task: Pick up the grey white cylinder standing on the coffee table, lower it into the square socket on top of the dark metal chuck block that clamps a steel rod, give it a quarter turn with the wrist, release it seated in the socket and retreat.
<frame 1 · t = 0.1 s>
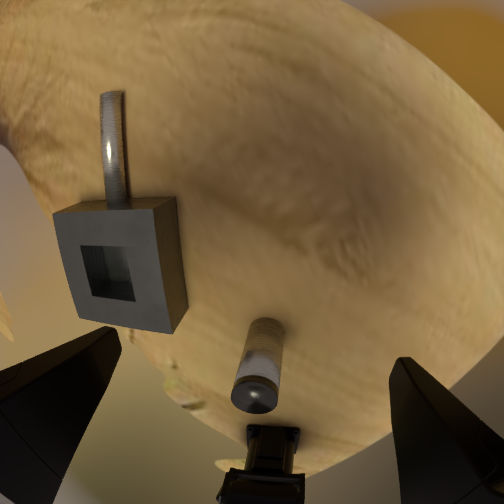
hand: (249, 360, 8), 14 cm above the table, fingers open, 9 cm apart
chuck block: (130, 254, 24), on the table
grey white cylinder: (266, 332, 25), on the table
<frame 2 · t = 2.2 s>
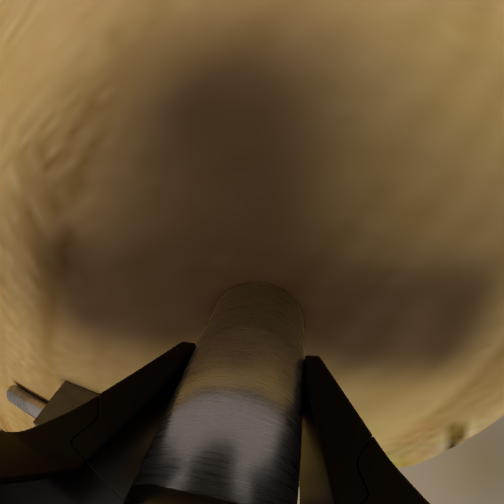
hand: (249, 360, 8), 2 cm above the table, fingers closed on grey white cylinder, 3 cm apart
chuck block: (149, 447, 15), on the table
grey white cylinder: (258, 322, 10), on the table, touching gripper
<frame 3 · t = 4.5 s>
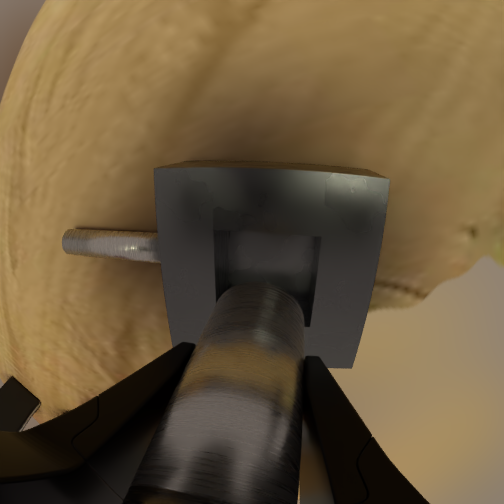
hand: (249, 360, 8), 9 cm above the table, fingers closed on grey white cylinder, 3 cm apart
battery charger: (27, 391, 32), on the table
chuck block: (271, 250, 17), on the table
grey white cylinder: (258, 322, 10), point 7 cm above the table, touching gripper
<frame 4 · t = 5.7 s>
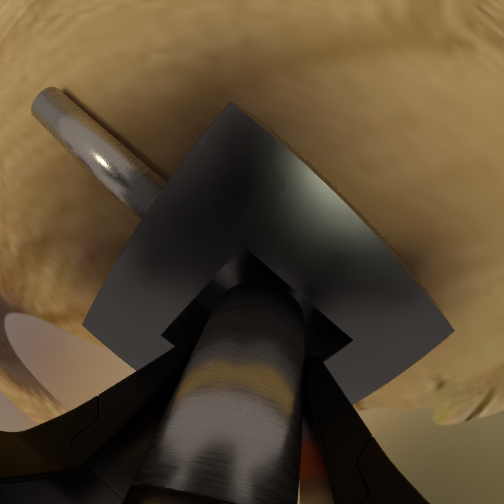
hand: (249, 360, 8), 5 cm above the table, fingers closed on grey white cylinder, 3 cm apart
chuck block: (265, 283, 13), on the table
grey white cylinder: (258, 322, 10), point 3 cm above the table, touching gripper
when the fingers open (5 cm above the table, at t = 6.8 s): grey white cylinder drops 2 cm, resting on chuck block.
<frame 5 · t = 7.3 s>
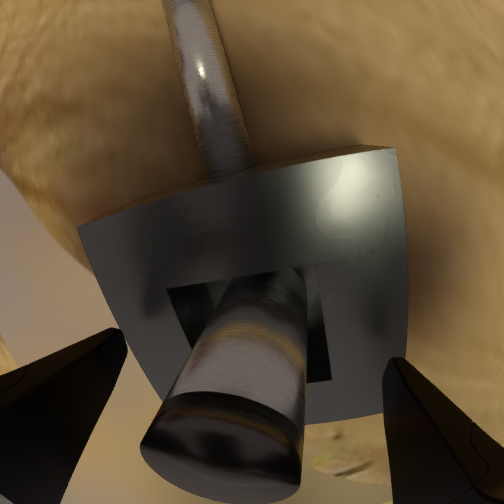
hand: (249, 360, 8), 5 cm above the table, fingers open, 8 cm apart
chuck block: (266, 283, 13), on the table
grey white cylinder: (267, 296, 12), point 1 cm above the table, touching chuck block
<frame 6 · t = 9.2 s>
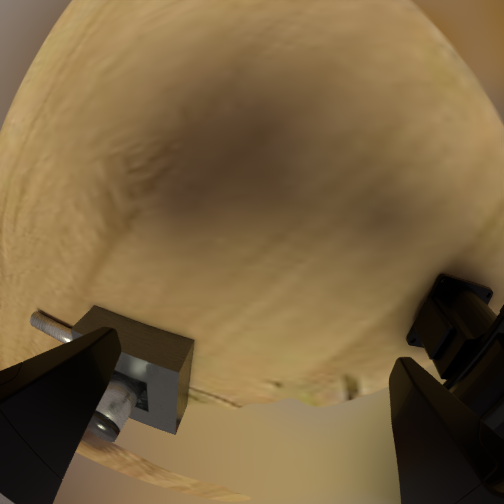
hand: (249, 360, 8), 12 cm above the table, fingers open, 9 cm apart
chuck block: (141, 361, 26), on the table
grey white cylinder: (137, 367, 25), point 1 cm above the table, touching chuck block
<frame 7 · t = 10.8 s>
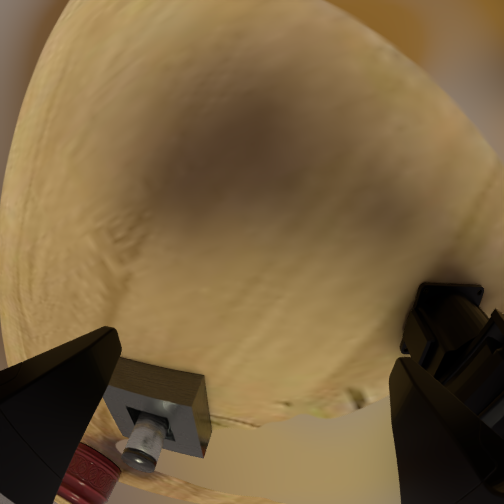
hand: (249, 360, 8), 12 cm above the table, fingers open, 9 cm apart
chuck block: (164, 397, 28), on the table
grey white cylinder: (160, 404, 27), point 1 cm above the table, touching chuck block
canister: (95, 457, 42), on the table
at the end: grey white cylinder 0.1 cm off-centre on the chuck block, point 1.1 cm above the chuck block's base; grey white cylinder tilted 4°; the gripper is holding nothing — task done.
